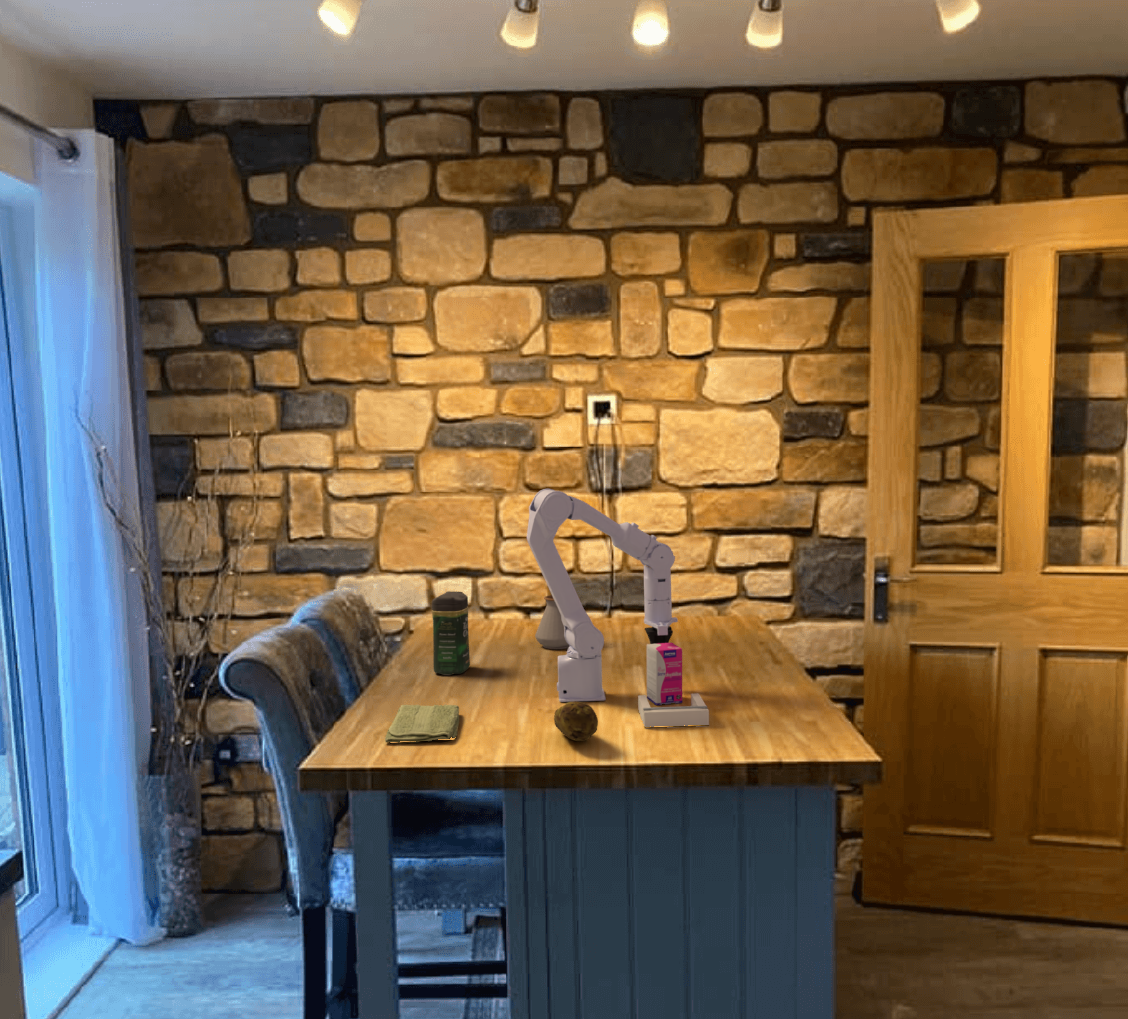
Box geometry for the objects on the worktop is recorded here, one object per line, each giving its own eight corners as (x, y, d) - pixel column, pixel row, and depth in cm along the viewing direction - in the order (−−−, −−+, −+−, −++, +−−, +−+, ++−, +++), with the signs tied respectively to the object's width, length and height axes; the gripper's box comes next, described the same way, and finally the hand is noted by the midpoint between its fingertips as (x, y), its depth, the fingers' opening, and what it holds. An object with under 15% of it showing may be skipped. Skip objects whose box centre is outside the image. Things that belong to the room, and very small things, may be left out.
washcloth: (383, 748, 168) (382, 730, 168) (398, 718, 185) (397, 702, 185) (456, 745, 168) (455, 728, 168) (464, 715, 186) (463, 700, 185)
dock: (644, 728, 174) (644, 711, 173) (638, 710, 185) (638, 694, 185) (709, 725, 174) (708, 708, 174) (698, 708, 185) (698, 692, 185)
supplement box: (656, 706, 187) (655, 650, 186) (646, 698, 193) (645, 643, 192) (683, 703, 189) (682, 647, 188) (672, 695, 194) (671, 641, 193)
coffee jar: (463, 676, 214) (460, 596, 213) (430, 675, 215) (426, 596, 214) (474, 665, 224) (471, 589, 222) (442, 665, 225) (439, 589, 223)
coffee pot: (581, 650, 237) (579, 591, 235) (535, 651, 236) (534, 593, 235) (576, 632, 258) (574, 578, 257) (534, 633, 257) (532, 579, 256)
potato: (600, 729, 173) (599, 687, 173) (597, 753, 161) (596, 708, 160) (555, 729, 174) (554, 687, 173) (549, 753, 161) (548, 708, 161)
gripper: (681, 604, 190) (683, 669, 191) (671, 591, 205) (673, 652, 206) (647, 605, 190) (648, 670, 191) (639, 592, 205) (641, 653, 206)
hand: (659, 661), depth 199 cm, fingers closed
